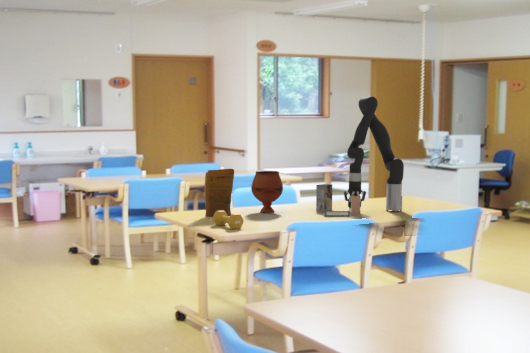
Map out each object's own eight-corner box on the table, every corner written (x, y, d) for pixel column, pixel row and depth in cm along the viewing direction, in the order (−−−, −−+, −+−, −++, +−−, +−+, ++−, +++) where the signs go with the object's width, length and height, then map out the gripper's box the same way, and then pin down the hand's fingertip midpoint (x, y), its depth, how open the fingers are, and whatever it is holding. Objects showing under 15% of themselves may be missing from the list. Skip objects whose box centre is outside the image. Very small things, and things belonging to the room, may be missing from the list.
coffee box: (323, 208, 470) (324, 183, 468) (332, 209, 466) (332, 184, 465) (315, 210, 463) (316, 184, 461) (324, 211, 459) (324, 185, 457)
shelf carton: (357, 212, 455) (357, 194, 454) (360, 214, 448) (360, 196, 446) (348, 212, 455) (349, 194, 454) (351, 214, 447) (352, 196, 446)
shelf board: (345, 213, 451) (345, 208, 451) (349, 216, 439) (349, 211, 439) (321, 213, 450) (321, 208, 449) (324, 216, 437) (324, 211, 437)
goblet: (245, 212, 451) (245, 171, 448) (263, 209, 466) (264, 169, 463) (270, 215, 439) (270, 173, 437) (288, 211, 455) (289, 171, 452)
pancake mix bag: (236, 216, 436) (236, 168, 433) (205, 218, 428) (205, 169, 425) (231, 214, 442) (232, 168, 439) (201, 216, 434) (201, 168, 431)
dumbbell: (211, 225, 402) (211, 210, 401) (225, 224, 408) (225, 209, 407) (230, 230, 387) (230, 215, 386) (244, 229, 393) (245, 213, 392)
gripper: (365, 179, 454) (364, 206, 455) (342, 179, 452) (341, 207, 454) (368, 180, 446) (367, 208, 448) (344, 180, 445) (344, 208, 446)
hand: (354, 207), depth 451 cm, fingers closed on shelf carton, 5 cm apart
